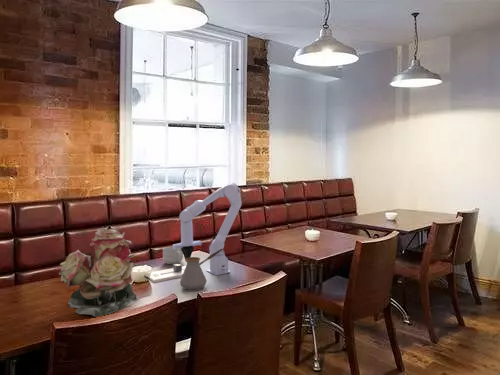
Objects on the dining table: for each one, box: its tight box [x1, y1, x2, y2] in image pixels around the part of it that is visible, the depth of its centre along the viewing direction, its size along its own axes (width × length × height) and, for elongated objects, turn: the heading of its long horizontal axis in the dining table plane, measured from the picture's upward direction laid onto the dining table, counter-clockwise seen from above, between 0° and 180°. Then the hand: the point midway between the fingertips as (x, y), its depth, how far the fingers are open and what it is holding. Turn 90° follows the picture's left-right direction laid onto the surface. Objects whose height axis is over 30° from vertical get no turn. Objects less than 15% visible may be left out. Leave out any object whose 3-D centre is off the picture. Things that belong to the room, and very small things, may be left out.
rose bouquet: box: [58, 226, 138, 318], centre depth 158 cm, size 26×29×30 cm
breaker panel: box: [149, 265, 186, 283], centre depth 196 cm, size 12×22×1 cm, turn 125°
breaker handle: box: [172, 263, 182, 272], centre depth 198 cm, size 3×3×3 cm
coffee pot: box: [179, 249, 225, 292], centre depth 180 cm, size 21×12×15 cm, turn 127°
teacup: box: [162, 246, 184, 265], centre depth 215 cm, size 14×11×8 cm
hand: (187, 261), depth 201 cm, fingers closed
